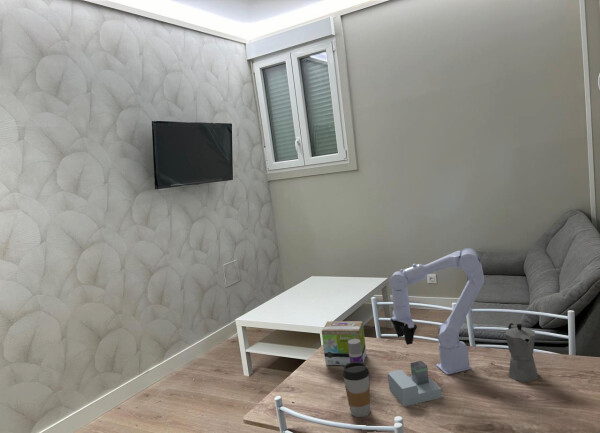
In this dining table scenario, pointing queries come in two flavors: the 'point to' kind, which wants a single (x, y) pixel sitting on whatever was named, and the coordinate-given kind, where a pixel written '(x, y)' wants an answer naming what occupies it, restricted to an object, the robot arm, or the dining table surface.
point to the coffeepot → (521, 353)
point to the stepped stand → (412, 389)
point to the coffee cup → (357, 388)
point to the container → (355, 350)
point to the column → (419, 372)
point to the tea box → (341, 340)
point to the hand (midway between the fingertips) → (405, 340)
